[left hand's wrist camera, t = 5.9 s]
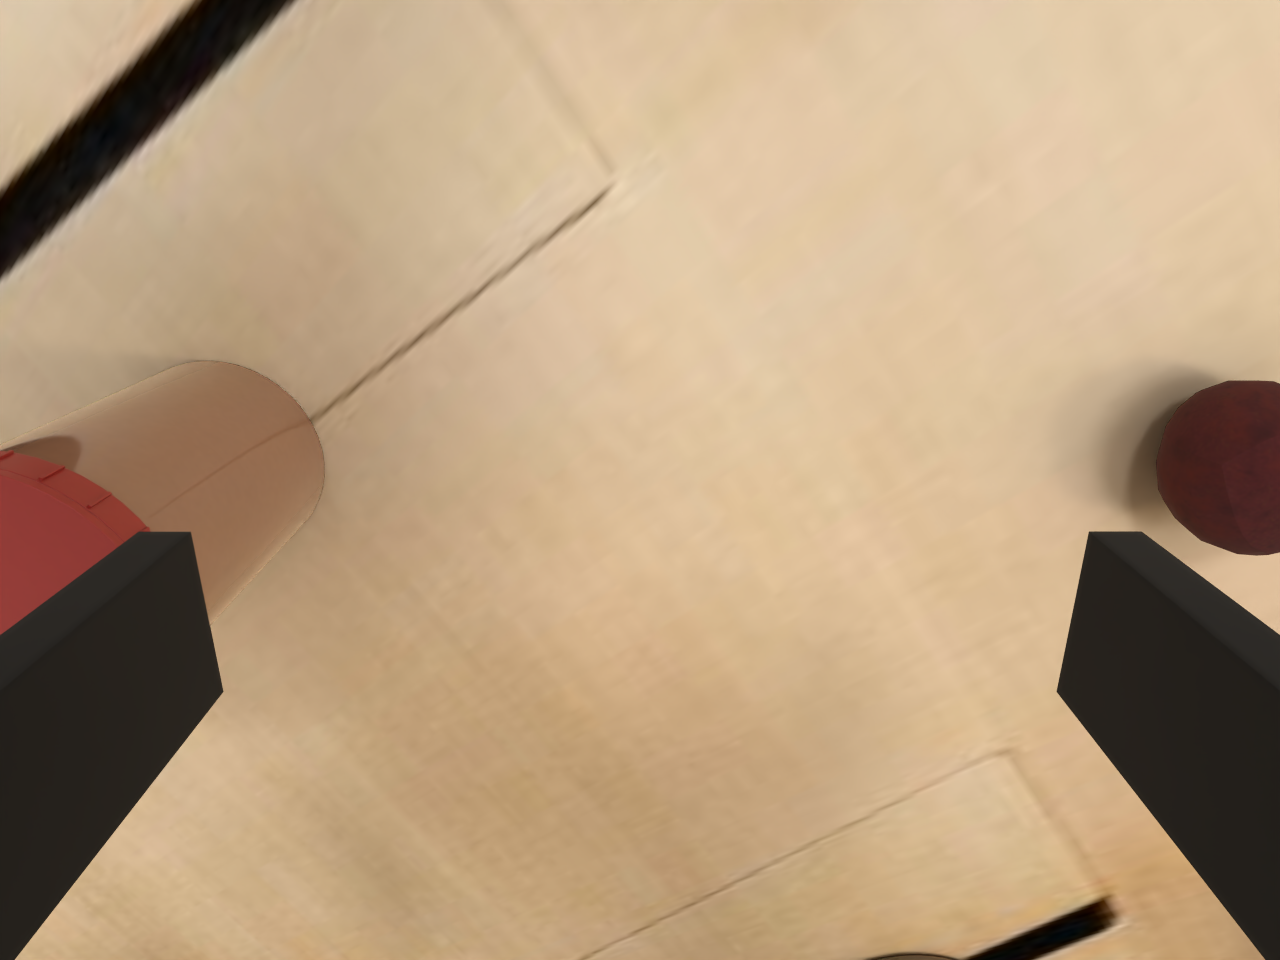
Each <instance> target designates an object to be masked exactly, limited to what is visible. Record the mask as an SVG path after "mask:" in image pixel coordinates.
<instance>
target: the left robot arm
mask: <svg viewBox="0 0 1280 960" xmlns="http://www.w3.org/2000/svg"><path fill="white" fill-rule="evenodd" d="M222 693H223V688H222V683H221V678H220V673H219V668H218V663H217V658H216V653H215V648H214V643H213V638H212V633H211V628H210V623H209V618H208V613H207V609H206V604H205V599H204V594H203V589H202V584H201V579H200V574H199V569H198V564H197V559H196V554H195V549H194V544H193V539H192V534H191V532H137V533H136V534H135V535H133V536H132V537H131V538H129V539H128V540H127V541H125V542H124V543H123V544H121V545H120V546H119V547H117V548H116V549H115V550H113V551H112V552H111V553H109V554H108V555H107V556H105V557H104V558H103V559H101V560H100V561H99V562H97V563H96V564H95V565H93V566H92V567H91V568H89V569H88V570H87V571H85V572H84V573H83V574H81V575H80V576H79V577H77V578H76V579H75V580H73V581H72V582H71V583H69V584H68V585H66V586H65V587H64V588H62V589H61V590H60V591H58V592H57V593H56V594H54V595H53V596H52V597H50V598H49V599H48V600H46V601H45V602H44V603H42V604H41V605H40V606H38V607H37V608H36V609H34V610H33V611H32V612H30V613H29V614H28V615H26V616H25V617H24V618H22V619H21V620H20V621H18V622H17V623H16V624H14V625H13V626H12V627H10V628H9V629H8V630H6V631H5V632H4V633H2V634H1V635H0V960H15V959H16V957H17V956H18V955H19V953H20V952H21V951H22V950H23V948H24V947H25V946H26V944H27V943H28V942H29V941H30V939H31V938H32V937H33V935H34V934H35V933H36V932H37V930H38V929H39V928H40V926H41V925H42V924H43V923H44V921H45V920H46V919H47V917H48V916H49V915H50V914H51V912H52V911H53V910H54V908H55V907H56V906H57V905H58V903H59V902H60V901H61V899H62V898H63V897H64V896H65V894H66V893H67V892H68V890H69V889H70V888H71V887H72V885H73V884H74V883H75V881H76V880H77V879H78V878H79V876H80V875H81V874H82V872H83V871H84V870H85V869H86V867H87V866H88V865H89V864H90V862H91V861H92V860H93V858H94V857H95V856H96V855H97V853H98V852H99V851H100V849H101V848H102V847H103V846H104V844H105V843H106V842H107V840H108V839H109V838H110V837H111V835H112V834H113V833H114V831H115V830H116V829H117V828H118V826H119V825H120V824H121V822H122V821H123V820H124V819H125V817H126V816H127V815H128V813H129V812H130V811H131V810H132V808H133V807H134V806H135V804H136V803H137V802H138V801H139V799H140V798H141V797H142V795H143V794H144V793H145V792H146V790H147V789H148V788H149V786H150V785H151V784H152V783H153V781H154V780H155V779H156V777H157V776H158V775H159V774H160V772H161V771H162V770H163V769H164V767H165V766H166V765H167V763H168V762H169V761H170V760H171V758H172V757H173V756H174V754H175V753H176V752H177V751H178V749H179V748H180V747H181V745H182V744H183V743H184V742H185V740H186V739H187V738H188V736H189V735H190V734H191V733H192V731H193V730H194V729H195V727H196V726H197V725H198V724H199V722H200V721H201V720H202V718H203V717H204V716H205V715H206V713H207V712H208V711H209V709H210V708H211V707H212V706H213V704H214V703H215V702H216V700H217V699H218V698H219V697H220V695H221V694H222ZM1057 693H1058V694H1059V695H1060V697H1061V698H1062V699H1063V700H1064V702H1065V703H1066V704H1067V706H1068V707H1069V708H1070V709H1071V711H1072V712H1073V713H1074V715H1075V716H1076V717H1077V718H1078V720H1079V721H1080V722H1081V724H1082V725H1083V726H1084V727H1085V729H1086V730H1087V731H1088V733H1089V734H1090V735H1091V736H1092V738H1093V739H1094V740H1095V742H1096V743H1097V744H1098V745H1099V747H1100V748H1101V749H1102V751H1103V752H1104V753H1105V754H1106V756H1107V757H1108V758H1109V760H1110V761H1111V762H1112V763H1113V765H1114V766H1115V767H1116V769H1117V770H1118V771H1119V772H1120V774H1121V775H1122V776H1123V777H1124V779H1125V780H1126V781H1127V783H1128V784H1129V785H1130V786H1131V788H1132V789H1133V790H1134V792H1135V793H1136V794H1137V795H1138V797H1139V798H1140V799H1141V801H1142V802H1143V803H1144V804H1145V806H1146V807H1147V808H1148V810H1149V811H1150V812H1151V813H1152V815H1153V816H1154V817H1155V819H1156V820H1157V821H1158V822H1159V824H1160V825H1161V826H1162V828H1163V829H1164V830H1165V831H1166V833H1167V834H1168V835H1169V837H1170V838H1171V839H1172V840H1173V842H1174V843H1175V844H1176V846H1177V847H1178V848H1179V849H1180V851H1181V852H1182V853H1183V855H1184V856H1185V857H1186V858H1187V860H1188V861H1189V862H1190V864H1191V865H1192V866H1193V867H1194V869H1195V870H1196V871H1197V872H1198V874H1199V875H1200V876H1201V878H1202V879H1203V880H1204V881H1205V883H1206V884H1207V885H1208V887H1209V888H1210V889H1211V890H1212V892H1213V893H1214V894H1215V896H1216V897H1217V898H1218V899H1219V901H1220V902H1221V903H1222V905H1223V906H1224V907H1225V908H1226V910H1227V911H1228V912H1229V914H1230V915H1231V916H1232V917H1233V919H1234V920H1235V921H1236V923H1237V924H1238V925H1239V926H1240V928H1241V929H1242V930H1243V932H1244V933H1245V934H1246V935H1247V937H1248V938H1249V939H1250V941H1251V942H1252V943H1253V944H1254V946H1255V947H1256V948H1257V950H1258V951H1259V952H1260V953H1261V955H1262V956H1263V957H1264V959H1265V960H1280V635H1279V634H1278V633H1276V632H1275V631H1274V630H1272V629H1271V628H1270V627H1268V626H1267V625H1266V624H1264V623H1263V622H1262V621H1260V620H1259V619H1258V618H1256V617H1255V616H1254V615H1252V614H1251V613H1250V612H1248V611H1247V610H1246V609H1244V608H1243V607H1242V606H1240V605H1239V604H1238V603H1236V602H1235V601H1234V600H1232V599H1231V598H1230V597H1228V596H1227V595H1226V594H1224V593H1223V592H1222V591H1220V590H1219V589H1218V588H1216V587H1215V586H1214V585H1212V584H1211V583H1209V582H1208V581H1207V580H1205V579H1204V578H1203V577H1201V576H1200V575H1199V574H1197V573H1196V572H1195V571H1193V570H1192V569H1191V568H1189V567H1188V566H1187V565H1185V564H1184V563H1183V562H1181V561H1180V560H1179V559H1177V558H1176V557H1175V556H1173V555H1172V554H1171V553H1169V552H1168V551H1167V550H1165V549H1164V548H1163V547H1161V546H1160V545H1159V544H1157V543H1156V542H1155V541H1153V540H1152V539H1151V538H1149V537H1148V536H1147V535H1145V534H1144V533H1143V532H1089V534H1088V539H1087V544H1086V549H1085V554H1084V559H1083V564H1082V569H1081V574H1080V579H1079V584H1078V589H1077V594H1076V599H1075V604H1074V609H1073V613H1072V618H1071V623H1070V628H1069V633H1068V638H1067V643H1066V648H1065V653H1064V658H1063V663H1062V668H1061V673H1060V678H1059V683H1058V688H1057Z"/></svg>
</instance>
